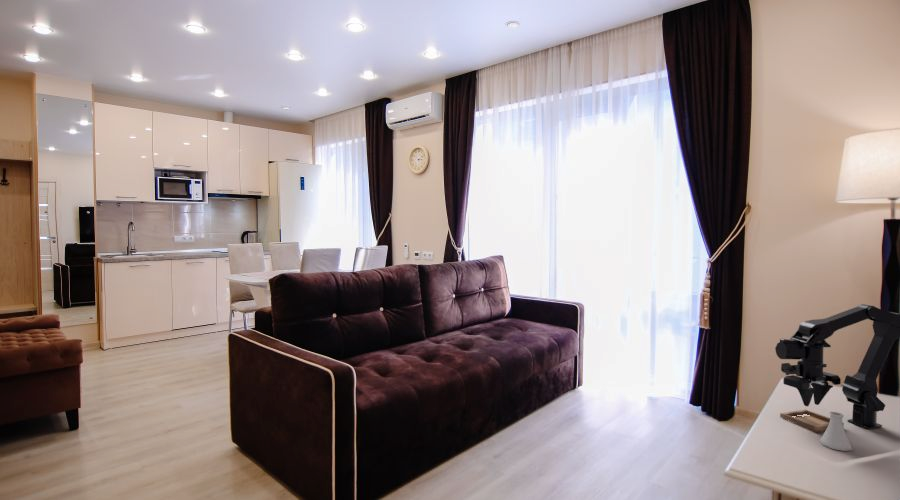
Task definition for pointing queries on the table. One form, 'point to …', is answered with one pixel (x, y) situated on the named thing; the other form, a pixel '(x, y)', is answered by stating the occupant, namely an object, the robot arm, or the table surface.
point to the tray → (808, 420)
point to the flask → (836, 434)
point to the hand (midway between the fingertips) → (811, 405)
